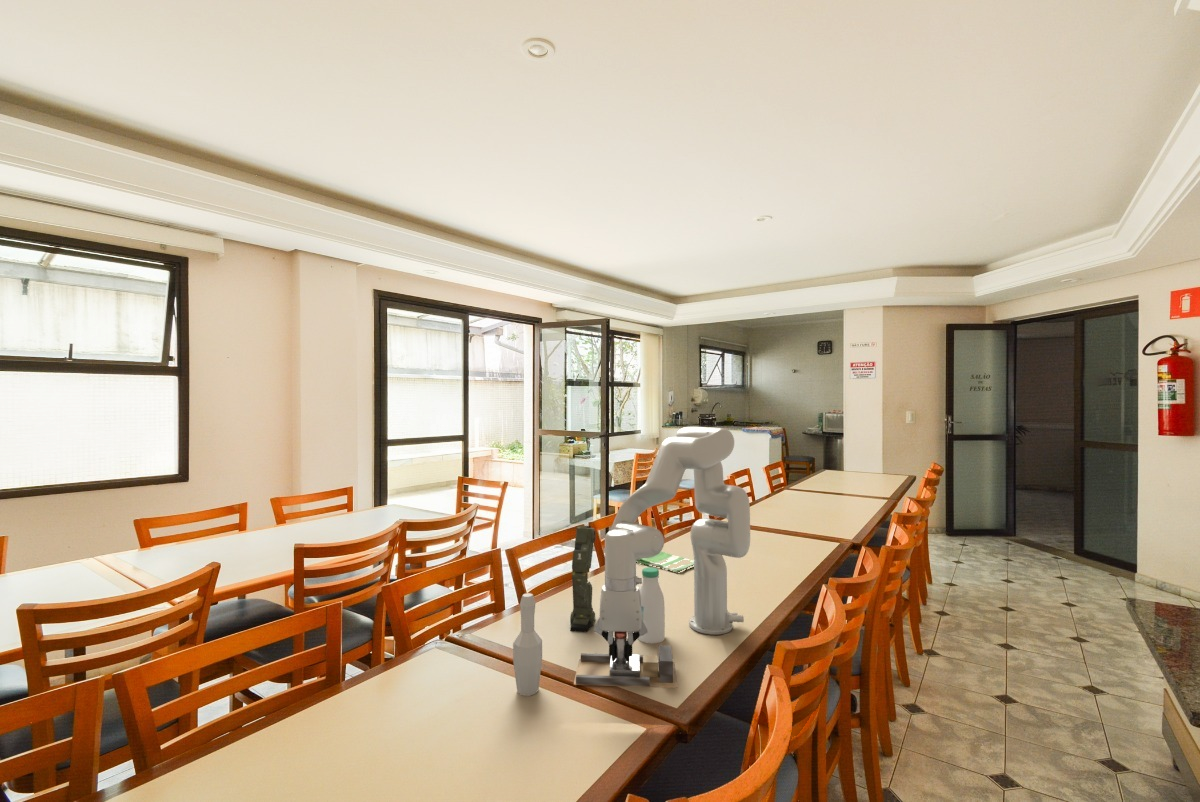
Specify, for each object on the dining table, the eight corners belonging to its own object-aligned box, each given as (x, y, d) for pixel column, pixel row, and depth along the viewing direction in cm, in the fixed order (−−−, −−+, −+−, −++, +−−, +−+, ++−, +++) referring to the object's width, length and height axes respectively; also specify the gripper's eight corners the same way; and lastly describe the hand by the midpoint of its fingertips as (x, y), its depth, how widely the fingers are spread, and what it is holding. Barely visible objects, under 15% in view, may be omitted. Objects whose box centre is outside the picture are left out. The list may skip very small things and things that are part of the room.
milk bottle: (667, 637, 149) (667, 566, 149) (661, 649, 142) (661, 574, 142) (640, 633, 152) (640, 564, 152) (633, 645, 144) (633, 572, 144)
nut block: (657, 670, 128) (657, 655, 128) (658, 677, 125) (658, 662, 125) (643, 669, 129) (643, 655, 129) (643, 677, 125) (643, 662, 125)
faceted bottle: (529, 701, 117) (529, 602, 118) (508, 692, 121) (507, 596, 121) (547, 687, 123) (546, 593, 123) (526, 680, 126) (525, 588, 126)
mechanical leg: (587, 635, 149) (592, 525, 156) (562, 632, 150) (569, 524, 157) (597, 627, 162) (601, 526, 169) (574, 625, 163) (579, 525, 170)
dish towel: (679, 575, 204) (679, 568, 204) (632, 563, 220) (632, 557, 220) (703, 565, 217) (703, 558, 217) (657, 554, 233) (657, 548, 233)
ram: (639, 664, 131) (639, 624, 131) (639, 681, 123) (639, 638, 123) (611, 663, 131) (611, 623, 132) (609, 680, 123) (609, 638, 124)
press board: (674, 666, 132) (674, 642, 132) (678, 693, 120) (677, 665, 120) (579, 663, 134) (579, 639, 134) (573, 689, 122) (573, 662, 122)
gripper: (653, 578, 131) (654, 652, 131) (588, 576, 132) (588, 650, 132) (654, 588, 123) (655, 667, 123) (585, 587, 124) (585, 665, 124)
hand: (620, 658), depth 127 cm, fingers closed on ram, 2 cm apart
